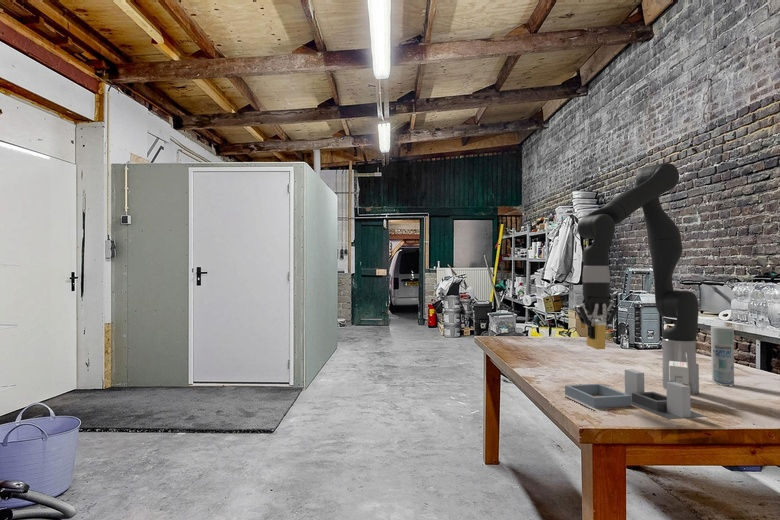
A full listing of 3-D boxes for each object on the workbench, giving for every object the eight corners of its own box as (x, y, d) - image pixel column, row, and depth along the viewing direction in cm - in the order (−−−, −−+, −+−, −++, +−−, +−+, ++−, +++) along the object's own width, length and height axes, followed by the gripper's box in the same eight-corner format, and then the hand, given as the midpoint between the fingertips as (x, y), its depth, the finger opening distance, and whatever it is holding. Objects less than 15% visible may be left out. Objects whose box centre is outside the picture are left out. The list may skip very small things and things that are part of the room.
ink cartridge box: (669, 398, 137) (668, 350, 138) (688, 400, 135) (687, 352, 135) (669, 404, 130) (668, 355, 130) (689, 407, 127) (689, 356, 128)
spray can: (733, 383, 156) (732, 326, 156) (735, 387, 150) (734, 328, 151) (710, 380, 159) (710, 325, 160) (712, 384, 154) (711, 327, 154)
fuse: (594, 344, 135) (595, 319, 135) (604, 349, 130) (606, 322, 130) (586, 345, 135) (587, 319, 134) (597, 349, 130) (598, 322, 129)
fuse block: (644, 397, 138) (643, 368, 138) (707, 420, 117) (706, 386, 117) (610, 399, 136) (610, 369, 136) (668, 423, 114) (668, 388, 114)
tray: (599, 395, 139) (599, 383, 140) (631, 409, 126) (631, 395, 126) (565, 397, 137) (564, 385, 137) (594, 411, 123) (594, 398, 124)
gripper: (607, 280, 137) (608, 336, 137) (568, 280, 135) (568, 337, 134) (625, 281, 130) (625, 340, 130) (583, 281, 127) (583, 341, 127)
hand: (596, 338), depth 132 cm, fingers closed on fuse, 2 cm apart
